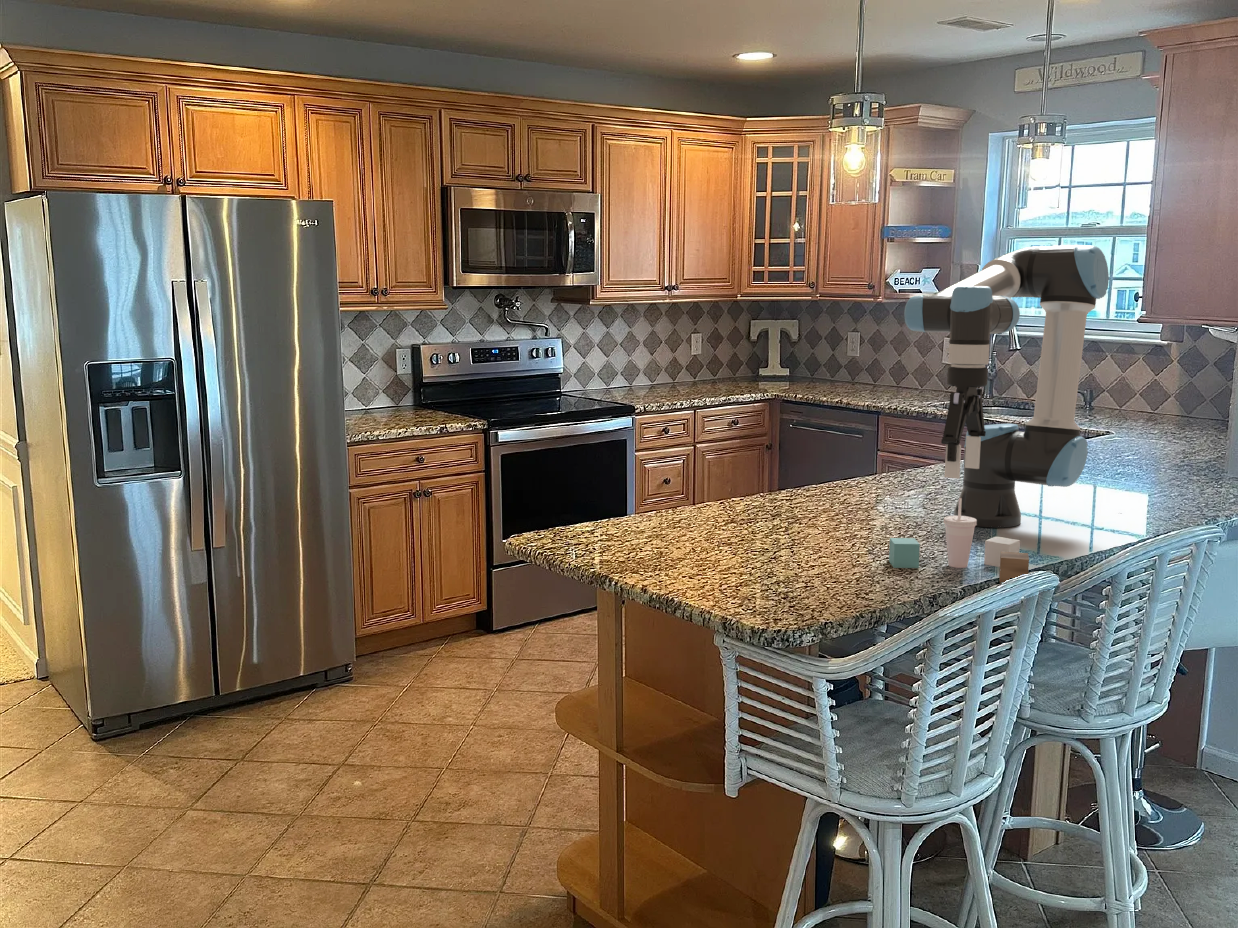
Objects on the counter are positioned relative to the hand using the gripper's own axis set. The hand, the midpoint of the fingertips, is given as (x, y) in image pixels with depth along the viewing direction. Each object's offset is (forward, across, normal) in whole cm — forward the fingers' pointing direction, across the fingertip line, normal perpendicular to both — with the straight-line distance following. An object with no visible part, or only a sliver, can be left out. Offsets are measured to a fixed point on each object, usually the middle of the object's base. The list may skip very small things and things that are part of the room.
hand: (962, 473), depth 213 cm
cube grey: (+19, -6, +7) cm, 21 cm away
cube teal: (+19, +5, -9) cm, 22 cm away
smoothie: (+19, 0, 0) cm, 19 cm away
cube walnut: (+19, +5, +12) cm, 23 cm away
